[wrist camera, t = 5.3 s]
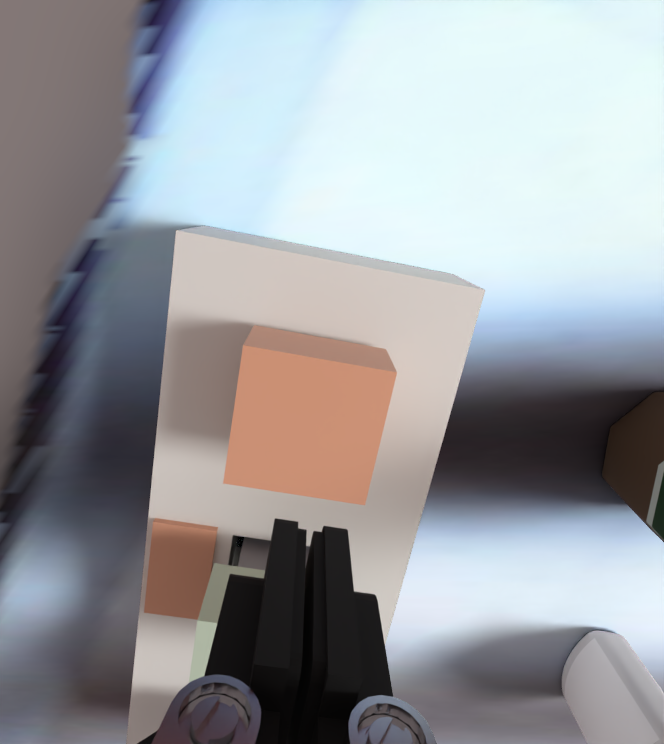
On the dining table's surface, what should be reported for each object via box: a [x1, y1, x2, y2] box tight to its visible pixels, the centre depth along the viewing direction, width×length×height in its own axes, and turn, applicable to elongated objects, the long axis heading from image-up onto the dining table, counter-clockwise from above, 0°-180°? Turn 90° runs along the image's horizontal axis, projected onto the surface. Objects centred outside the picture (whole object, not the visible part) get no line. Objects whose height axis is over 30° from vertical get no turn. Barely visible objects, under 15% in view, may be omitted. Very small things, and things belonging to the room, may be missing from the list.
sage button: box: [189, 537, 310, 682], centre depth 23 cm, size 5×5×8 cm
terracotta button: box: [223, 325, 397, 505], centre depth 22 cm, size 5×5×8 cm
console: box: [126, 226, 485, 744], centre depth 26 cm, size 30×12×5 cm, turn 169°
